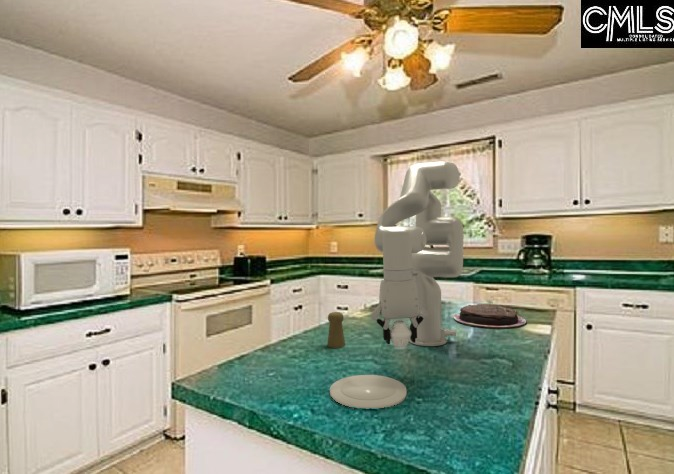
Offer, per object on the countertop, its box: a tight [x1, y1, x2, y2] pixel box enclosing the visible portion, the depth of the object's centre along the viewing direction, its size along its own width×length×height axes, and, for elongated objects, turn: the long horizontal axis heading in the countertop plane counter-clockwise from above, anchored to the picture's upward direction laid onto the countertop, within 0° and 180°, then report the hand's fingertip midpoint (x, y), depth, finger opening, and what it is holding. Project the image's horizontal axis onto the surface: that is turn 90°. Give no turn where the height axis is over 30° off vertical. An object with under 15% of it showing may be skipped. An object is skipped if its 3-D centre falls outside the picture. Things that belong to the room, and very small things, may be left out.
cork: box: [326, 311, 346, 349], centre depth 136 cm, size 6×6×11 cm
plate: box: [329, 374, 407, 409], centre depth 96 cm, size 18×18×1 cm
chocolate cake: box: [452, 303, 527, 330], centre depth 166 cm, size 28×28×7 cm
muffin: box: [389, 319, 412, 348], centre depth 109 cm, size 6×6×7 cm
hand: (400, 341), depth 109 cm, fingers closed on muffin, 6 cm apart
